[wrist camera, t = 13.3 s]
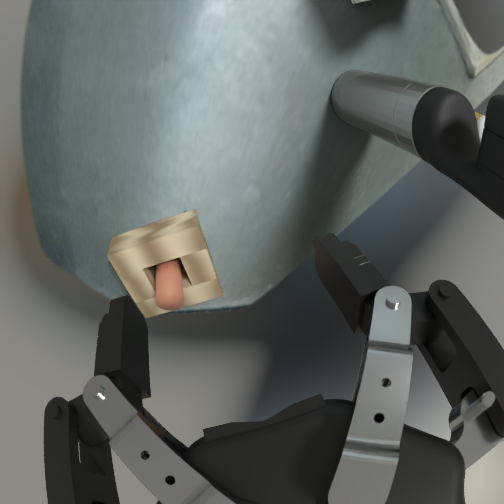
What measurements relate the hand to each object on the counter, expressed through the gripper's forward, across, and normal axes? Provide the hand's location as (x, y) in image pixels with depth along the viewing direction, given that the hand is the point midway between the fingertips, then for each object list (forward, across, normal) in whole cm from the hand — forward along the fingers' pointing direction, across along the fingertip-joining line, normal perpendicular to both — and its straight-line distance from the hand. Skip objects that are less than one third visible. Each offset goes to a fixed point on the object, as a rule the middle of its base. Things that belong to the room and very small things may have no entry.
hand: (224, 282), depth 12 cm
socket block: (+30, +9, +19) cm, 37 cm away
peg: (+30, +9, +19) cm, 37 cm away
